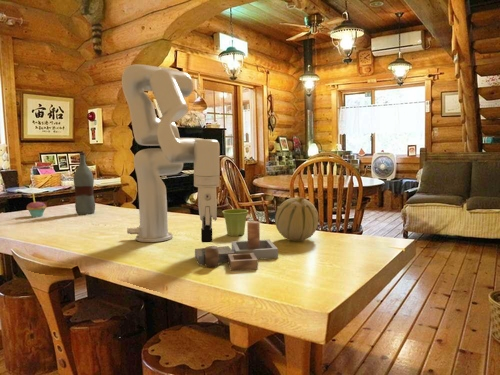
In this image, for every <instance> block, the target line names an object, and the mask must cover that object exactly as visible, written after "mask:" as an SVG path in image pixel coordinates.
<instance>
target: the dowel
mask: <svg viewBox="0 0 500 375" xmlns="http://www.w3.org/2000/svg"><path fill="white" fill-rule="evenodd" d="M246 222H247V224H246V226H247V231H246V232H247V241H248V250H249V249H260V240H261V238H260V235H261V234H260V230H261V229H260V227H261V226H260V224H261V223H260V222H259V221H257V220H256V221H255V220H252V221H246Z"/></svg>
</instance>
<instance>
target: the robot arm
mask: <svg viewBox="0 0 500 375" xmlns="http://www.w3.org/2000/svg"><path fill="white" fill-rule="evenodd" d="M122 72H123V73H122V74H121V88H122V92H123V95H124V98H125V101H126V103H127V105H128V109H129V114H130V120H131V126H132V132H133V136H134V140H135V143H137V144H138V145H139V146H147V147H149V146H154V147H155V146H159V147H160V148H144V149H141V150H139V151H138V152H136V153H135V155H134V157H133V165H134V166H133V167H134V170H135V175H136V179H137V191H138V192H137V193H138V208H139V209H138V211H139V226H137V227H136V228H135V227H134V228H133V227H130V228H127V229H126V230H127V231H126V232H127V234H128V235H136V236H135V240H136V241H137V242H141V243H157V242H163V241H164V242H165V241H167V240H172V239H173V233H172V232H169V227H168V226H169V225H168V200H167V187H166V185H165V182H164V181H163V180H162V178H161V177H160V176H172V175H177V174H179V173H181V171H183V168H184V164H186V163H187V164H188V163H189V164H190V163H191V164H192V163H193V187H195V188H197V196H198V197H197V200H198V201H197V203H198V214H199V220H200V221H201V228H200V230H201V234H200V236H201V237H200V238H201V243H213V226H212V224H213V223H212V222H213V220H214V221H217V220H218V217H217V216H218V211H217V210H218V207H217V204H218V203H217V202H218V200H217V196H218V195H217V188H218V187H220V170H221V169H220V160H221V159H220V154H221V151H220V149H221V148H220V142H219V141H218V140H217V139H212V138H211V139H209V138H207V139H206V138H205V139H204V138H199V137H198V138H197V137H180V133H179V129H178V126H177V125H176V123H175V122H178V121H179V120H181V119H182V118H184V117H185V116H186V115H187V114H188V111H189V106H188V104H187V102H186V100H185V98H188V97H189V96H191V94H192V93H193V90H194V82H193V79H192V77H191V76H190V74H188V73H187V72H186V71H180V70H178V69H177V70H176V69H173V68H172V69H171V68H167V67H161V66H154V65H149V64H140V63H139V64H130V65H127V66H126V67H125V68H124V70H123V71H122ZM145 91H146V92H152V93H153V96H154V98H155V100H156V101H155V102H156V103H157V106H158V108H159V110H160V113H161V117H160V118H158V117H157V115H156V111H155V110H156V109H155V105H154V102H152V100H151V98H150V97H149V96H148V94H146V93H145Z"/></svg>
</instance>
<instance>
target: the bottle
mask: <svg viewBox="0 0 500 375" xmlns="http://www.w3.org/2000/svg"><path fill="white" fill-rule="evenodd" d="M78 155H79V165H78V166H77V168H76V170H75V171H74V173H73V174H74V175H73V186H74V191H75V201H74V202H75V203H74V207H75V208H74V209H75V212H76V214H77V215H78V216H85V215H87V216H88V215H93V214H95V210H96V203H95V202H96V200H95V196H94V183H95V180H94V178H95V177H94V174H93V172H92V171H91V169H90V168H89V166H88V165H87V164H86V152H79V154H78Z"/></svg>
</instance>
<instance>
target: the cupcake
mask: <svg viewBox="0 0 500 375" xmlns="http://www.w3.org/2000/svg"><path fill="white" fill-rule="evenodd" d="M32 200H33V202H30V203H28V204H27V205H26V210H28V212H29V214H30V216H31V218H39V217H43V216H44V212H45V210H46V209H47V204H45V203H44V202H42V201H36V199H35V193H32Z"/></svg>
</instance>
